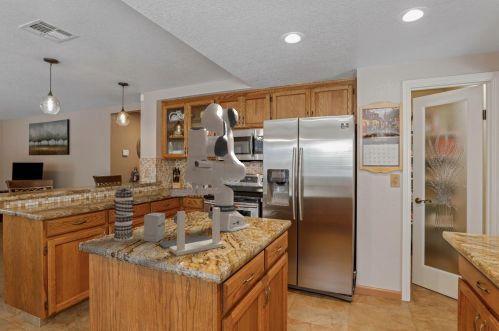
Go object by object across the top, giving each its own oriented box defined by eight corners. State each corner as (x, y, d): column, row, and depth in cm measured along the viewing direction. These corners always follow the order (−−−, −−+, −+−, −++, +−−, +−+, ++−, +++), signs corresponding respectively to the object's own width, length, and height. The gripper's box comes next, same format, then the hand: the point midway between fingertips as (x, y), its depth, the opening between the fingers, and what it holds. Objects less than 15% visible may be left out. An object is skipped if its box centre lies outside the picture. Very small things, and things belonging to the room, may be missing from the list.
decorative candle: (120, 242, 124) (121, 189, 124) (109, 239, 129) (109, 188, 129) (137, 237, 132) (138, 188, 132) (126, 235, 137) (126, 187, 137)
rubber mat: (204, 236, 137) (204, 234, 137) (212, 240, 131) (212, 238, 131) (158, 244, 122) (158, 242, 122) (164, 248, 116) (164, 247, 116)
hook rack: (213, 241, 128) (214, 205, 128) (223, 246, 121) (223, 208, 121) (169, 250, 114) (170, 209, 114) (177, 255, 108) (178, 213, 108)
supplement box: (157, 242, 126) (157, 215, 126) (143, 241, 127) (143, 214, 127) (165, 238, 133) (165, 213, 133) (151, 237, 134) (152, 212, 134)
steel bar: (218, 192, 127) (218, 187, 127) (220, 193, 125) (220, 187, 125) (170, 195, 112) (170, 190, 112) (171, 196, 111) (171, 190, 111)
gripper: (181, 162, 125) (180, 191, 125) (201, 163, 109) (201, 196, 109) (193, 162, 129) (193, 190, 129) (214, 163, 113) (214, 195, 113)
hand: (196, 193), depth 119 cm, fingers closed on steel bar, 2 cm apart
